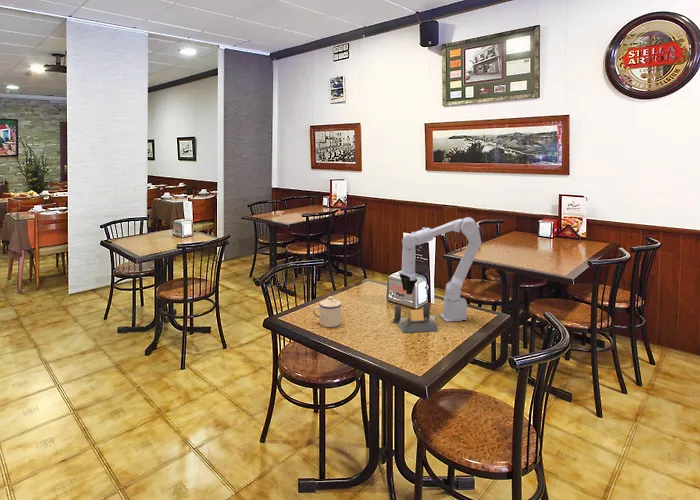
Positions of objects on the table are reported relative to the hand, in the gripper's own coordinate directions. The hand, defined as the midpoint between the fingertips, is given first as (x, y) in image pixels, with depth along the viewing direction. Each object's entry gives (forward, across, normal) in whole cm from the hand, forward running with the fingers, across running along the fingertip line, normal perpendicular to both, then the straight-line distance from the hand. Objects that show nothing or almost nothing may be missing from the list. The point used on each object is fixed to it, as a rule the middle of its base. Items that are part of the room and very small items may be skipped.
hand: (407, 292), depth 195 cm
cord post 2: (+10, +8, +6) cm, 15 cm away
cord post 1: (+10, +8, -6) cm, 15 cm away
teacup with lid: (+11, +6, -36) cm, 38 cm away
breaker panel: (+10, +16, 0) cm, 19 cm away
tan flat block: (+7, +16, 0) cm, 18 cm away
